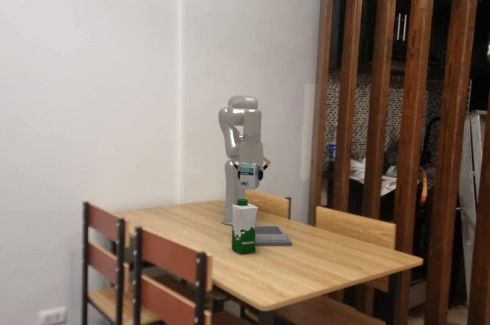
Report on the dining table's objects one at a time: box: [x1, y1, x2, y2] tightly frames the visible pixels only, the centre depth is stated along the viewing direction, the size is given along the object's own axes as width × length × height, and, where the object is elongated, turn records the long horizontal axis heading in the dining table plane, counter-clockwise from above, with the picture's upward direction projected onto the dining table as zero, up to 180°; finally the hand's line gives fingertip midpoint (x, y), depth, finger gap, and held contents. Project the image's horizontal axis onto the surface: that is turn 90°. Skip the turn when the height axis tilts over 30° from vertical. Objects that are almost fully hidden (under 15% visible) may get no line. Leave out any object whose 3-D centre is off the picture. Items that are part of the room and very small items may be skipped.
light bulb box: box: [240, 163, 261, 191], centre depth 183 cm, size 11×7×11 cm, turn 166°
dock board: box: [255, 232, 293, 247], centre depth 187 cm, size 19×19×2 cm
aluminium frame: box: [255, 225, 288, 241], centre depth 187 cm, size 15×15×2 cm
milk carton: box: [231, 198, 259, 255], centre depth 170 cm, size 9×9×20 cm
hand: (250, 180), depth 183 cm, fingers closed on light bulb box, 8 cm apart
